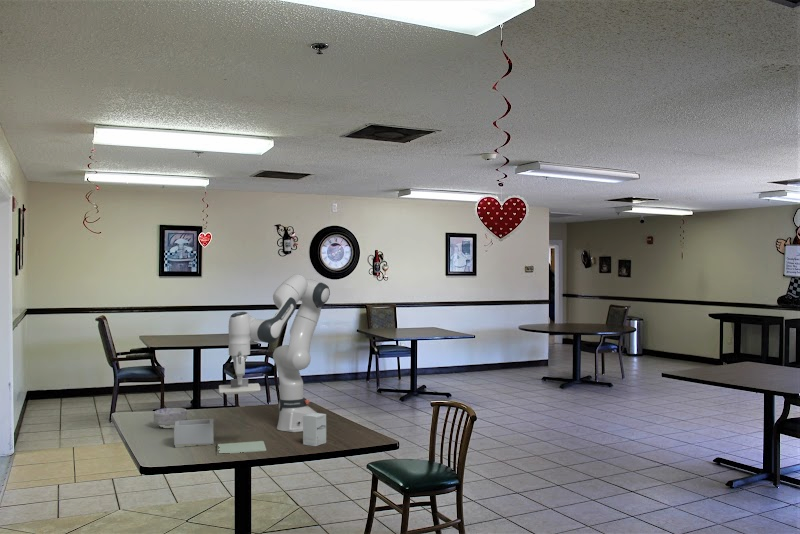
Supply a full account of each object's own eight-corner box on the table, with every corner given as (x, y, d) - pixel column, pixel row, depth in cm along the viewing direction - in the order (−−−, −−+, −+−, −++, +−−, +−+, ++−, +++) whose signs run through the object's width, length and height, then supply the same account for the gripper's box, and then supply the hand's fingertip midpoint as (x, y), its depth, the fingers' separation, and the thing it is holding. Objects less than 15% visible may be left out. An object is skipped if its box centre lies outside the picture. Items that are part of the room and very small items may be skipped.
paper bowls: (176, 430, 325) (176, 413, 326) (147, 429, 328) (147, 412, 329) (192, 424, 340) (192, 407, 340) (164, 423, 343) (164, 407, 344)
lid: (258, 388, 299) (258, 376, 299) (260, 393, 287) (260, 380, 287) (219, 390, 295) (219, 378, 295) (219, 395, 283) (219, 382, 283)
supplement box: (316, 446, 292) (315, 416, 292) (302, 444, 296) (302, 415, 296) (326, 443, 298) (326, 413, 298) (313, 441, 302) (313, 412, 302)
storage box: (213, 438, 308) (213, 418, 308) (213, 445, 296) (213, 424, 296) (175, 441, 304) (175, 420, 304) (174, 447, 292) (174, 426, 292)
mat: (263, 442, 301) (263, 440, 301) (266, 450, 285) (266, 449, 285) (215, 445, 296) (215, 444, 296) (216, 454, 280) (216, 453, 280)
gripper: (248, 353, 282) (248, 386, 282) (246, 348, 302) (246, 379, 302) (232, 353, 280) (232, 387, 280) (231, 348, 300) (231, 380, 300)
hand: (239, 383), depth 291 cm, fingers closed on lid, 3 cm apart
